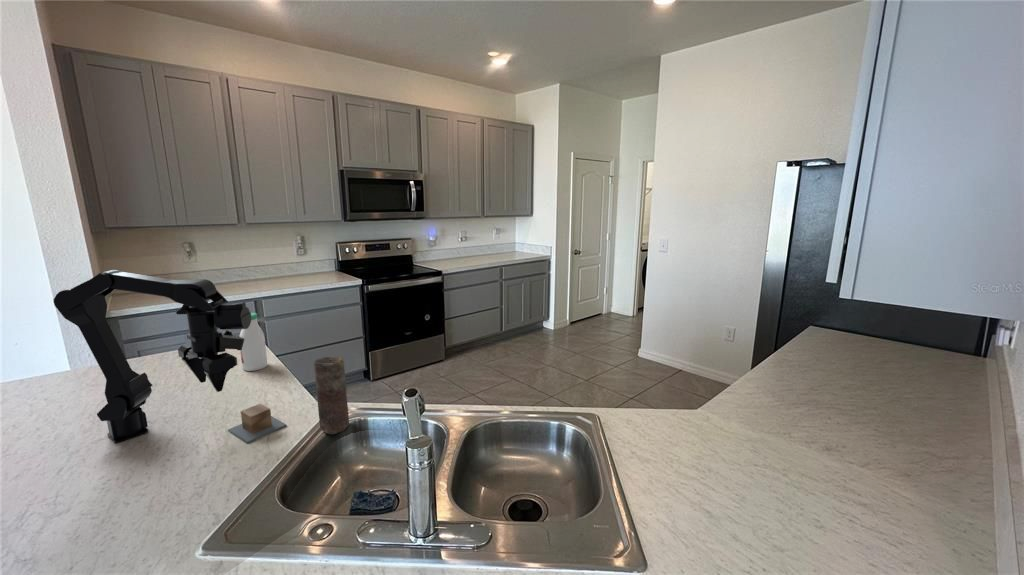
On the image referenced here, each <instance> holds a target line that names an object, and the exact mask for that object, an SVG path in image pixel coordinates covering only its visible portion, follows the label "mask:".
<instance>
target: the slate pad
mask: <svg viewBox="0 0 1024 575" xmlns="http://www.w3.org/2000/svg"><path fill="white" fill-rule="evenodd" d="M271 420H272V426H270V427H268V428H266V429H263V430H261V431H259V432H256V433H254V434H251V433H250V432H248V431H246V430H245V429H243V426H242V423H241V424H237V425H235V426H233V427H231V428H228V429H227V432H229V433H230V434H232V435H234V436H235V437H236V438H238V439H240V440H241V441H243V442H244V443H245V444H247V445H248V444H250V443H252V442H255V441H256V440H259V439H261V438H263V437H266V436H268V435H270V434H272V433H274V432H277V431H279V430H281V429H284V428H286V427H287V424H286V423H284V422H283V421H281V420H280V419H277V418H275V417H274V416H272V415H271Z"/></svg>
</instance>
